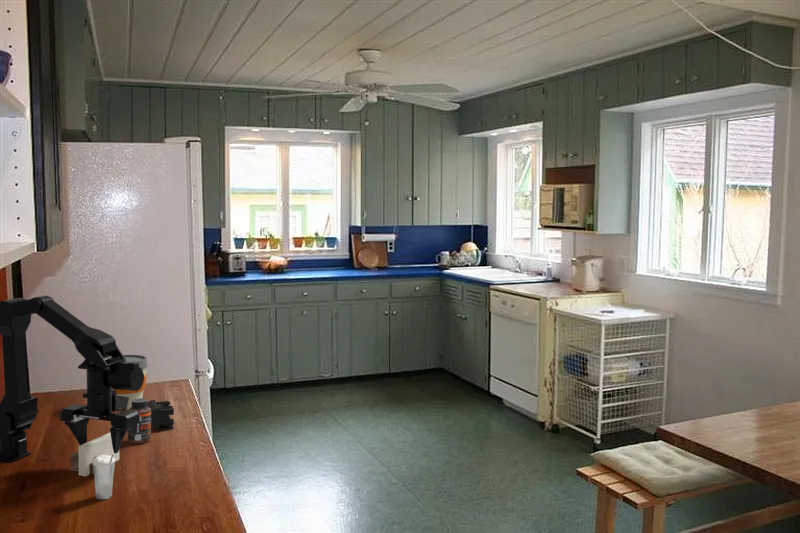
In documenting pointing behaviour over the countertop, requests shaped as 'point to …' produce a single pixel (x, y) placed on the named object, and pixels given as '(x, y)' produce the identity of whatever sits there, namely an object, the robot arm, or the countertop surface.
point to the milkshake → (103, 476)
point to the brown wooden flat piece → (77, 463)
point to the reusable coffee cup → (139, 393)
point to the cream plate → (94, 452)
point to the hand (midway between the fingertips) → (100, 450)
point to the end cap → (161, 415)
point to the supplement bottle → (140, 423)
